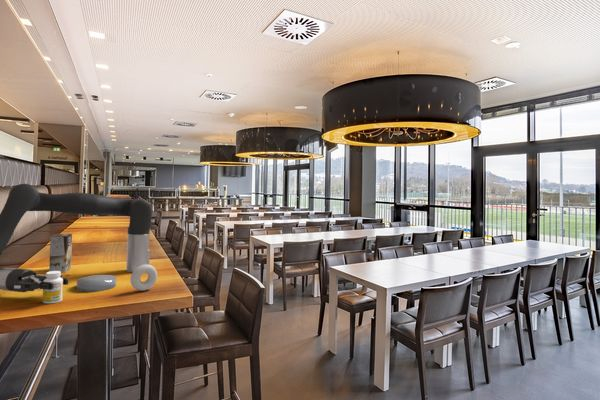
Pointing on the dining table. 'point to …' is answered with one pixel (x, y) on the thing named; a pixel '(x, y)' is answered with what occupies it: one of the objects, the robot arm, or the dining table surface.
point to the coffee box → (60, 252)
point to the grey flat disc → (96, 283)
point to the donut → (137, 274)
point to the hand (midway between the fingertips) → (60, 283)
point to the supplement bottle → (57, 291)
